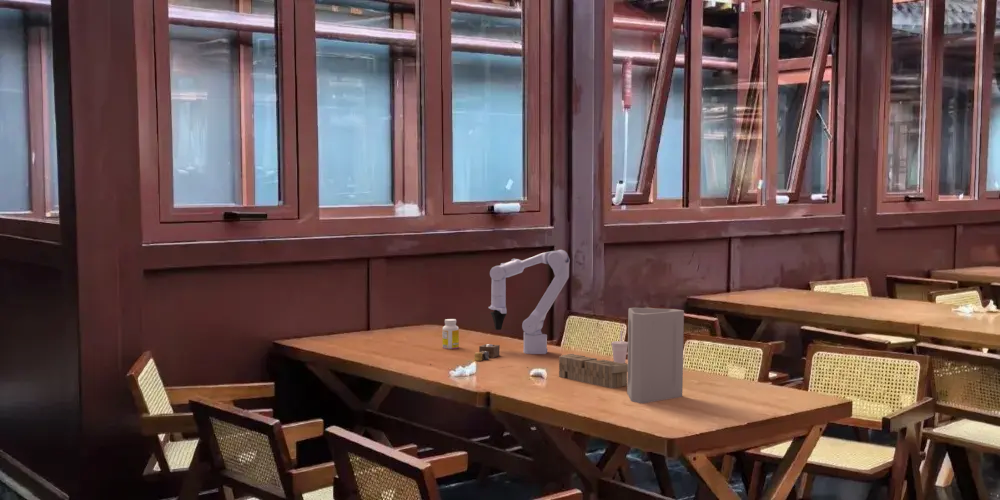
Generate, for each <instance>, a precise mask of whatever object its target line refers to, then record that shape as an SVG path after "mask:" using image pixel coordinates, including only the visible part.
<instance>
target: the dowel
mask: <svg viewBox="0 0 1000 500" xmlns="http://www.w3.org/2000/svg"><path fill="white" fill-rule="evenodd" d="M489 358H490V357H489V352H488V351H484V360H483V361H489Z"/></svg>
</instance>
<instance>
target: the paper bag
mask: <svg viewBox="0 0 1000 500" xmlns="http://www.w3.org/2000/svg"><path fill="white" fill-rule="evenodd" d="M627 312H628V318H627V320H628V322H627V325H628V327H627V334H628V335H627V342H628V346H627V364H628V372H627V385H626V386H627V387H626V388H627V390H626V394H627V395H628V398H629V400H630V401H631V402H632V403H638V404H648V403H651V402H652V403H653V402H660V401H666V400H671V399H677V398H682V397H683V386H684V385H683V383H684V381H683V380H684V377H683V374H684V370H683V369H684V332H685V331H684V326H685V325H684V323H685V310H683V309H677V308H656V307H655V308H653V307H652V308H651V307H649V308H648V307H629V308H628V311H627Z"/></svg>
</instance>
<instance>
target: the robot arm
mask: <svg viewBox="0 0 1000 500" xmlns="http://www.w3.org/2000/svg"><path fill="white" fill-rule="evenodd" d="M570 261H571V260H570V257H569V254H568V252H567V251H566V250H563V249H557V250H551V251H546V252H545V251H544V252H542V253H538V254H536V255H534V256H532V257H528V258H525V259H523V260H521V259H519V258H512V259H511V260H510V261H507V262H501V263H500V265H495V266H493V267H491V269H490V271H489V276H490V278H491V296H490V297H491V298H490V299H491V301H490V303H491V304H490V306H488V309H490V310H493V311H490V313H489V314H490V315H491V317H492V320H493V324H494V329H495V330H496V331H499V330H500V331H501V330H502V327H503V325H504V320H505V317H506V316H507V312H508V311H507V310H508V309H507V305H506V303H507V299H506V298H507V295H506V294H507V293H506V292H507V290H506V289H507V287H506V286H507V285H506V280H507V279H506V278H510V277H513V276H516V275H518V274H522V273H523V272H524V269H527V268H528V267H532V266H535V265H538V264H545V265H549V266H550V268H551V269H552V271H553V274H554V277H553V279H552V280H551V283H549V286H548V287H547V288H546V291H545V292H544V294H543V296H542V297H541V298H540V300H539V302H538V304H537V305H536V307H535V309H534V310H533V311H532V312H531V313H530V314H529V316H528V317H527V318H525V319H524V320H523V321H522V325H521V328H522V331H523V350H522V351H523V354H526V355H527V354H528V355H546V354H548V348H547V347H548V340H547V339H548V335H547V334H545V333H543V332H542V330H543V329H542V328H543V326H544V321H545V319H546V316H547V313H548V312H549V310H551V307H552V306H553V304H554V302H555V301H556V300H557V298H558V296H559V295H560V293H561V291H562V289H563V288H564V286H565V285H566V283H567V281H568V280H569V278H570Z"/></svg>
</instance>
